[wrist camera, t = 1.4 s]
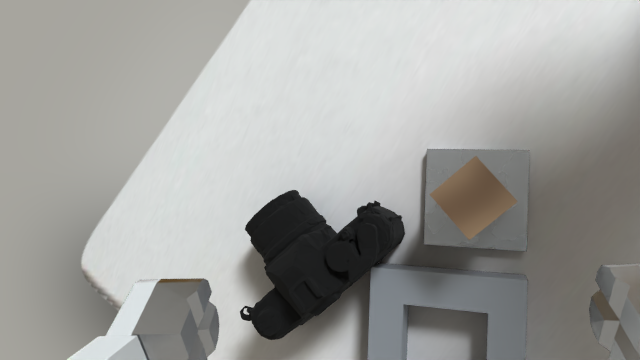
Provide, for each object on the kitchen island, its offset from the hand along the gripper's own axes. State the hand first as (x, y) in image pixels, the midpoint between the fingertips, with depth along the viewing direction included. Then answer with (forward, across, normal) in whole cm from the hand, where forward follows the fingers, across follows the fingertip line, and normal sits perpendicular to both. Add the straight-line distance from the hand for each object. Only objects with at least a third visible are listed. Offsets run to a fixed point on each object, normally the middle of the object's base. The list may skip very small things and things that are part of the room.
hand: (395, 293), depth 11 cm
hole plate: (+22, -5, +27) cm, 35 cm away
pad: (+28, -8, +17) cm, 33 cm away
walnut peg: (+27, -8, +16) cm, 33 cm away
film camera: (+28, +6, +21) cm, 36 cm away
